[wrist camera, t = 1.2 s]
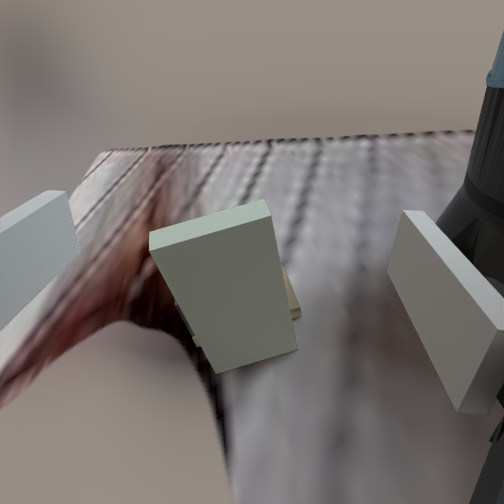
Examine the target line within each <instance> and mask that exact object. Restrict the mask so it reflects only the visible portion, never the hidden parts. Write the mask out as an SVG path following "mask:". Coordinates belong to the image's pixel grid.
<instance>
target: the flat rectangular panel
mask: <svg viewBox="0 0 504 504" xmlns="http://www.w3.org/2000/svg"><path fill="white" fill-rule="evenodd" d="M149 252H150V253H151V255H152V257H153V259H154V261H155V263H156V264H157V266H158V268H159V270H160V272H161V274H162V275H163V277H164V279H165V281H166V283H167V285H168V286H169V288H170V290H171V292H172V294H173V296H174V298H175V299H176V301H177V303H178V305H179V307H180V309H181V310H182V312H183V314H184V316H185V318H186V320H187V321H188V323H189V325H190V327H191V329H192V331H193V333H194V334H195V336H196V338H197V340H198V342H199V344H200V345H201V347H202V349H203V351H204V353H205V355H206V356H207V358H208V360H209V362H210V364H211V366H212V367H213V369H214V371H215V373H216V374H218V373H221V372H225V371H228V370H231V369H235V368H238V367H241V366H245V365H248V364H251V363H255V362H258V361H261V360H265V359H268V358H271V357H275V356H278V355H281V354H285V353H288V352H291V351H295V350H298V347H297V342H296V337H295V332H294V327H293V322H292V317H291V312H290V307H289V302H288V297H287V292H286V287H285V282H284V277H283V272H282V267H281V262H280V257H279V252H278V247H277V242H276V237H275V232H274V227H273V222H272V217H271V214H270V212H269V210H268V207H267V205H266V203H265V200H264V199H262V200H259V201H255V202H252V203H248V204H245V205H241V206H238V207H234V208H231V209H227V210H224V211H221V212H217V213H214V214H210V215H207V216H203V217H200V218H196V219H193V220H189V221H186V222H183V223H179V224H176V225H172V226H169V227H165V228H162V229H158V230H155V231H152V232H150V237H149Z"/></svg>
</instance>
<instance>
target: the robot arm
mask: <svg viewBox="0 0 504 504" xmlns="http://www.w3.org/2000/svg"><path fill="white" fill-rule="evenodd" d="M486 84H487V88H486V93H485V97H484V101H483V105H482V109H481V113H480V117H479V121H478V126H477V130H476V134H475V138H474V142H473V146H472V150H471V155H470V159H469V163H468V168H467V172H466V176H465V179H464V183H463V185H462V187H461V188H460V189H459V191H458V192H457V194H456V195H455V196H454V198H453V199H452V201H451V202H450V203H449V205H448V206H447V208H446V209H445V210H444V212H443V213H442V215H441V216H440V217H439V219H438V220H437V222H436V224H435V223H434V222H433V221H432V220H431V219H430V218H429V217H428V216H427V215H426V213H425V212H424V211H412V210H403V211H402V215H401V219H400V222H399V226H398V230H397V234H396V238H395V241H394V245H393V249H392V253H391V257H390V260H389V264H388V268H387V273H388V275H389V277H390V279H391V281H392V283H393V285H394V287H395V289H396V291H397V293H398V295H399V297H400V299H401V301H402V303H403V305H404V307H405V309H406V311H407V313H408V315H409V317H410V319H411V321H412V323H413V325H414V327H415V329H416V331H417V333H418V335H419V337H420V339H421V341H422V343H423V345H424V347H425V349H426V351H427V354H428V356H429V358H430V360H431V362H432V364H433V366H434V368H435V370H436V372H437V374H438V376H439V378H440V380H441V382H442V384H443V386H444V388H445V390H446V392H447V394H448V396H449V398H450V400H451V402H452V404H453V406H454V408H455V410H456V412H461V413H474V414H486V415H488V413H489V411H490V410H491V408H492V406H493V404H494V403H495V401H496V399H498V400H499V402H500V403H501V405H502V407H503V408H504V32H503V34H502V38H501V41H500V44H499V47H498V51H497V54H496V57H495V60H494V63H493V67H492V69H491V70H490V71H489V73H488V75H487V78H486ZM79 253H80V248H79V244H78V240H77V235H76V231H75V227H74V223H73V219H72V215H71V211H70V206H69V202H68V198H67V194H66V192H65V191H51V190H47V191H45V192H43V193H42V194H40V195H38V196H36V197H35V198H33V199H32V200H30V201H28V202H26V203H24V204H23V205H21V206H19V207H18V208H16V209H14V210H13V211H11V212H9V213H7V214H6V215H4V216H2V217H0V331H1V330H2V329H3V328H4V327H5V326H6V325H7V324H8V323H9V322H10V321H11V320H12V319H13V318H14V317H15V316H16V315H17V314H18V313H19V312H20V311H21V310H22V309H23V308H24V307H25V306H26V305H27V304H29V303H30V302H31V301H32V300H33V299H34V298H35V297H36V296H37V295H38V294H39V293H40V292H41V291H42V290H43V289H44V288H45V287H46V286H47V285H48V284H49V283H50V282H51V281H52V280H53V279H54V278H55V277H56V276H57V275H58V274H59V273H60V272H61V271H62V270H63V269H64V268H65V267H66V266H67V265H68V264H69V263H70V262H71V261H72V260H73V259H74V258H75V257H76V256H77V255H78V254H79ZM489 441H490V442H492V445H491V448H490V450H489V453H488V456H487V458H486V461H485V464H484V466H483V469H482V472H481V474H480V477H479V479H478V482H477V485H476V487H475V490H474V493H473V495H472V498H471V500H470V503H469V504H504V417H503V418H502V420H501V422H500V423H499V425H498V426H497V428H496V430H495V431H494V433H493V435H492V436H491V438H490V440H489Z"/></svg>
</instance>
